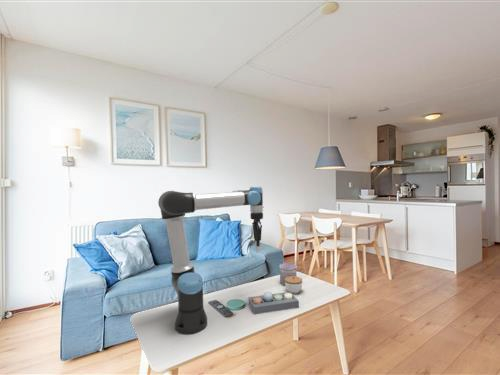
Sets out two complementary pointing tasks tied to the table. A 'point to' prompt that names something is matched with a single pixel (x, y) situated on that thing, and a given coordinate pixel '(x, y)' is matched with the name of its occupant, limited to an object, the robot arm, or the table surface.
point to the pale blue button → (267, 297)
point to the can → (287, 271)
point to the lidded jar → (293, 284)
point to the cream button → (288, 296)
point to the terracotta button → (256, 300)
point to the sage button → (277, 297)
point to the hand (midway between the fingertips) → (257, 251)
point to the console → (273, 304)
